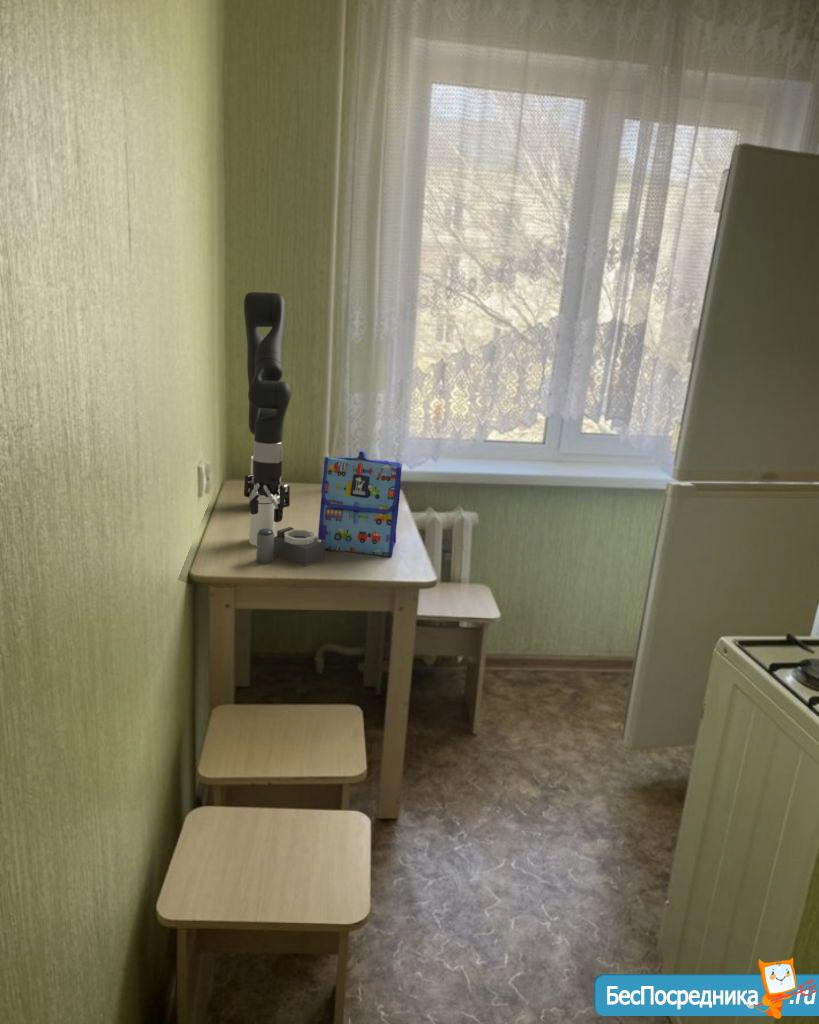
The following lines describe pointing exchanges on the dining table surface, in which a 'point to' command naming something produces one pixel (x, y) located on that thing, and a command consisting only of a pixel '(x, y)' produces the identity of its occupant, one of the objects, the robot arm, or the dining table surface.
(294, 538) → the camera body
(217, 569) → the dining table surface
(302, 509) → the dining table surface
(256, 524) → the cylindrical container
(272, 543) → the lens
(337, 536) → the lunch bag
